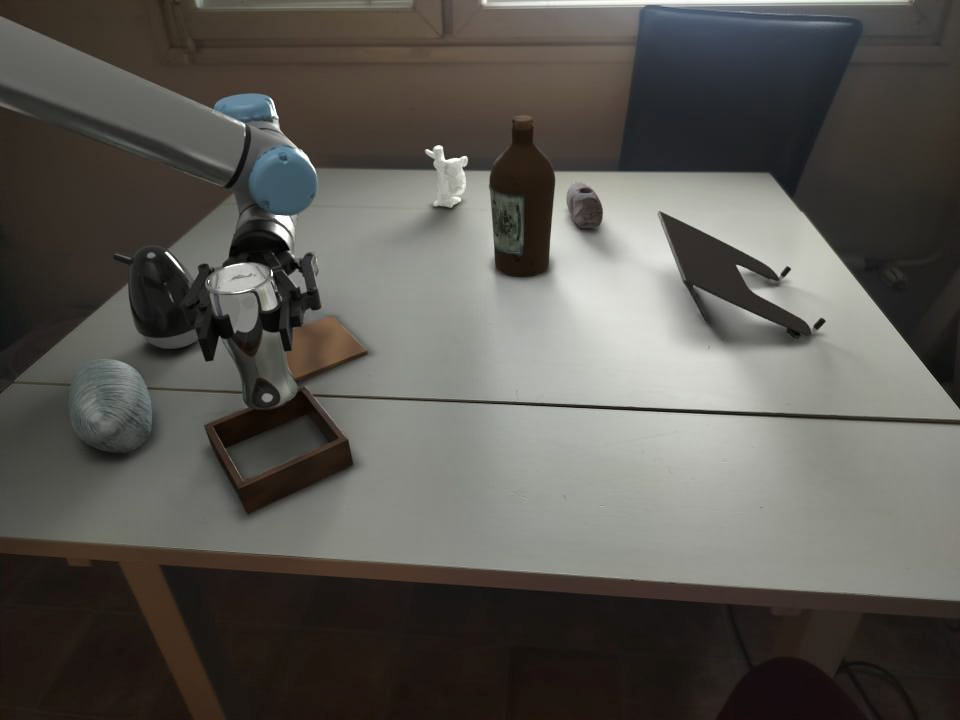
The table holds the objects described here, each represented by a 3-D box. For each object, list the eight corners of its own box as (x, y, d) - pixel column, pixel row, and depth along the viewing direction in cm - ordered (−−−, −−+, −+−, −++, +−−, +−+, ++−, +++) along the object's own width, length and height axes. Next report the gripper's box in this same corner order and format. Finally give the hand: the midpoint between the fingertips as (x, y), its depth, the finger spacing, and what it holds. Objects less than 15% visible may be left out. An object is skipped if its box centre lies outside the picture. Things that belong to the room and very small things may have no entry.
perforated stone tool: (559, 205, 137) (561, 172, 133) (585, 203, 137) (587, 170, 133) (575, 236, 125) (578, 200, 121) (603, 234, 125) (606, 198, 121)
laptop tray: (790, 381, 96) (836, 334, 91) (655, 320, 92) (694, 267, 87) (749, 300, 115) (784, 257, 110) (634, 246, 111) (666, 199, 105)
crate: (247, 514, 71) (238, 488, 69) (212, 449, 80) (203, 424, 78) (353, 465, 77) (348, 439, 75) (310, 409, 86) (304, 384, 83)
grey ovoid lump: (92, 409, 89) (29, 379, 80) (149, 362, 90) (92, 327, 81) (130, 481, 82) (65, 457, 73) (191, 429, 83) (134, 399, 74)
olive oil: (518, 245, 122) (518, 104, 108) (564, 262, 116) (571, 115, 102) (478, 266, 116) (473, 120, 102) (525, 285, 110) (526, 133, 96)
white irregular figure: (427, 210, 137) (422, 152, 130) (431, 197, 143) (427, 141, 136) (468, 210, 136) (465, 151, 129) (470, 197, 142) (468, 141, 135)
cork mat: (288, 384, 90) (287, 381, 90) (257, 345, 98) (257, 341, 98) (367, 353, 96) (367, 350, 95) (332, 318, 104) (332, 315, 103)
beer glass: (294, 412, 73) (264, 293, 64) (231, 414, 73) (192, 295, 64) (307, 374, 79) (281, 260, 70) (249, 375, 79) (215, 262, 70)
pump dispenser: (160, 321, 105) (127, 231, 96) (225, 320, 104) (198, 230, 95) (130, 358, 96) (91, 264, 88) (200, 358, 96) (168, 264, 87)
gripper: (347, 263, 88) (352, 362, 69) (190, 281, 85) (152, 388, 67) (338, 209, 84) (341, 300, 65) (172, 226, 81) (127, 325, 62)
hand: (245, 344), depth 66 cm, fingers closed on beer glass, 7 cm apart
